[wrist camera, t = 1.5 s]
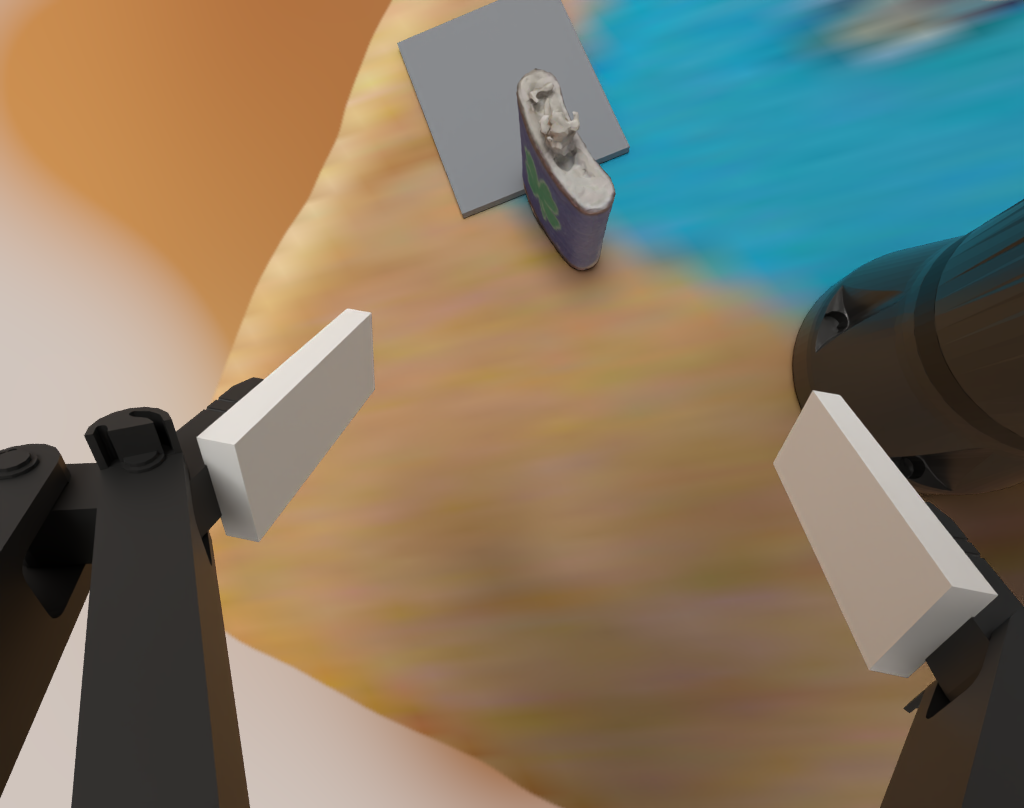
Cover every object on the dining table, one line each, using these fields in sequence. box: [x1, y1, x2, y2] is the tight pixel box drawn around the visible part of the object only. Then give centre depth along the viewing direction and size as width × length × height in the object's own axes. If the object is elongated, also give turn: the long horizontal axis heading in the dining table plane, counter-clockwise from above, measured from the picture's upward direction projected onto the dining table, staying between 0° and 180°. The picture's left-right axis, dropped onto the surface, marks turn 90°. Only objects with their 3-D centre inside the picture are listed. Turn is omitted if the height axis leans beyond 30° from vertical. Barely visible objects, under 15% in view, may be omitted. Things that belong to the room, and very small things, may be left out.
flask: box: [516, 68, 615, 270], centre depth 30 cm, size 9×3×11 cm, turn 26°
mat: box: [397, 0, 630, 218], centre depth 37 cm, size 16×13×1 cm
